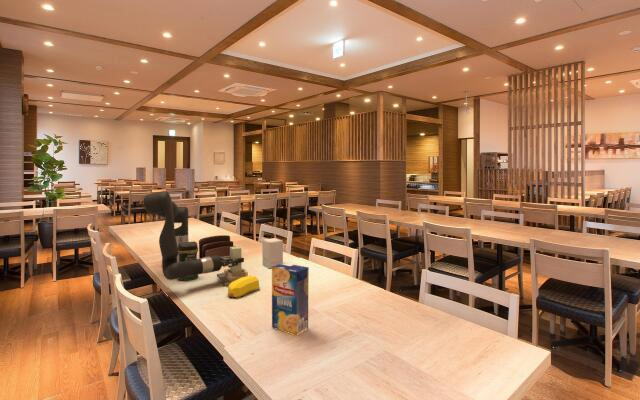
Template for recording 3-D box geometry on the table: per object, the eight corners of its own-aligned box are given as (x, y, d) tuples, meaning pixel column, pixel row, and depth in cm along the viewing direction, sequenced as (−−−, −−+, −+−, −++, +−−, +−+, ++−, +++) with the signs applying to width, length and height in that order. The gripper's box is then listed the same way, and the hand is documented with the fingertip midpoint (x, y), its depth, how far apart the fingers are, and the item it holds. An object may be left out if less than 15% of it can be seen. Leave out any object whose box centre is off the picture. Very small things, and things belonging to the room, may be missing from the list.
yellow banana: (222, 297, 155) (235, 300, 151) (222, 282, 154) (235, 285, 150) (251, 285, 170) (263, 288, 166) (251, 271, 169) (263, 274, 165)
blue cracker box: (284, 320, 132) (284, 262, 130) (308, 328, 126) (308, 267, 124) (271, 327, 126) (271, 266, 124) (296, 336, 120) (297, 272, 118)
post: (230, 272, 179) (229, 247, 178) (238, 271, 182) (238, 246, 180) (232, 275, 176) (232, 249, 174) (241, 273, 178) (241, 248, 177)
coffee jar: (180, 282, 173) (178, 244, 171) (176, 277, 180) (175, 241, 178) (200, 278, 178) (199, 242, 177) (196, 274, 185) (195, 239, 183)
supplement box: (283, 266, 202) (283, 240, 200) (269, 268, 197) (269, 242, 195) (276, 262, 209) (276, 237, 208) (262, 265, 204) (261, 239, 203)
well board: (216, 276, 183) (216, 268, 183) (241, 272, 189) (241, 264, 189) (225, 286, 167) (225, 278, 167) (252, 282, 174) (252, 274, 173)
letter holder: (198, 260, 212) (198, 237, 211) (229, 255, 225) (229, 233, 224) (205, 264, 205) (205, 240, 203) (237, 259, 217) (236, 236, 216)
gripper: (216, 259, 163) (248, 254, 174) (201, 253, 173) (233, 248, 185) (216, 275, 163) (248, 268, 175) (202, 269, 174) (233, 262, 185)
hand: (240, 258), depth 180 cm, fingers closed on post, 5 cm apart
